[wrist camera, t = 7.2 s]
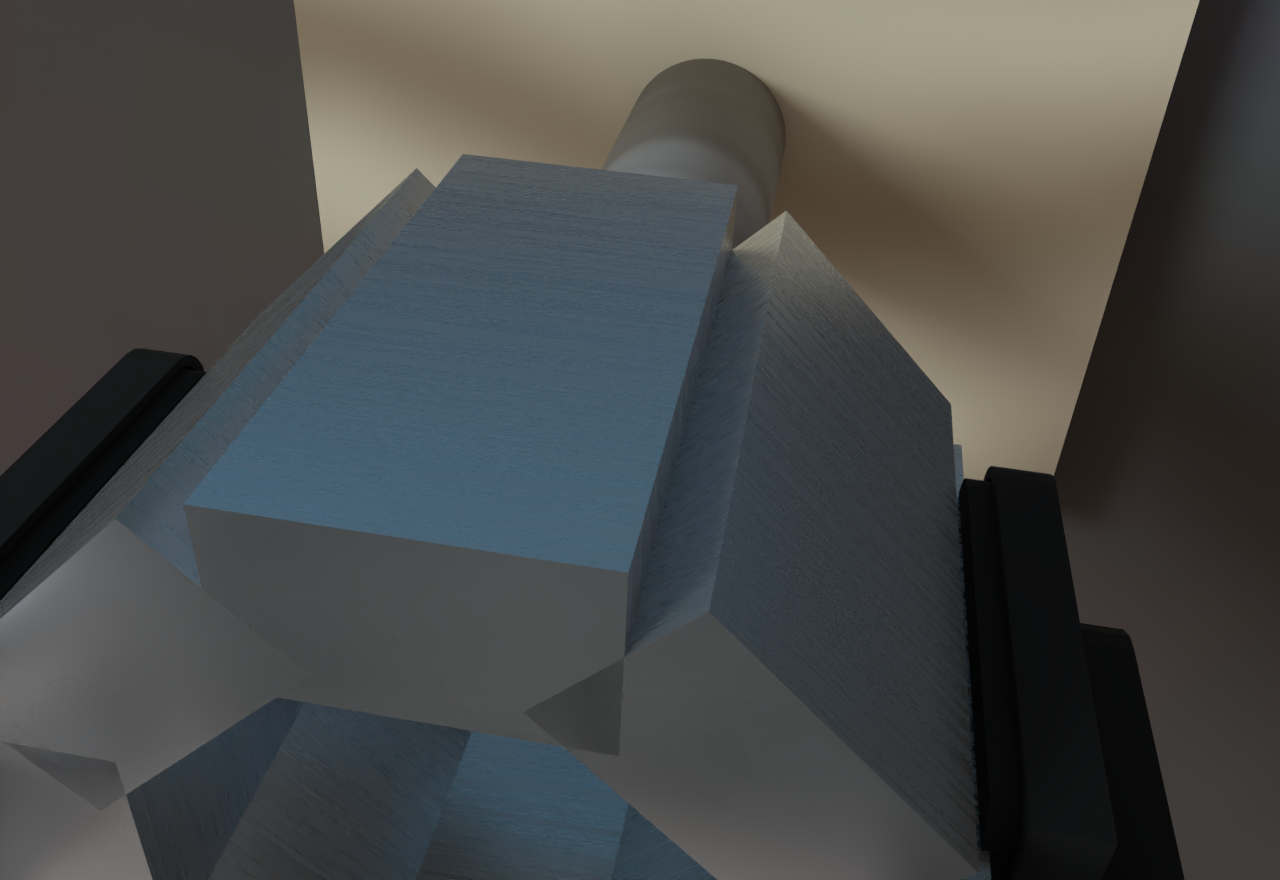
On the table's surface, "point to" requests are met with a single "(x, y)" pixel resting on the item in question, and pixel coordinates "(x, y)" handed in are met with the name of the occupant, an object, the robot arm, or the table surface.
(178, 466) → the hub
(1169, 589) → the table surface
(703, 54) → the shaft stand
